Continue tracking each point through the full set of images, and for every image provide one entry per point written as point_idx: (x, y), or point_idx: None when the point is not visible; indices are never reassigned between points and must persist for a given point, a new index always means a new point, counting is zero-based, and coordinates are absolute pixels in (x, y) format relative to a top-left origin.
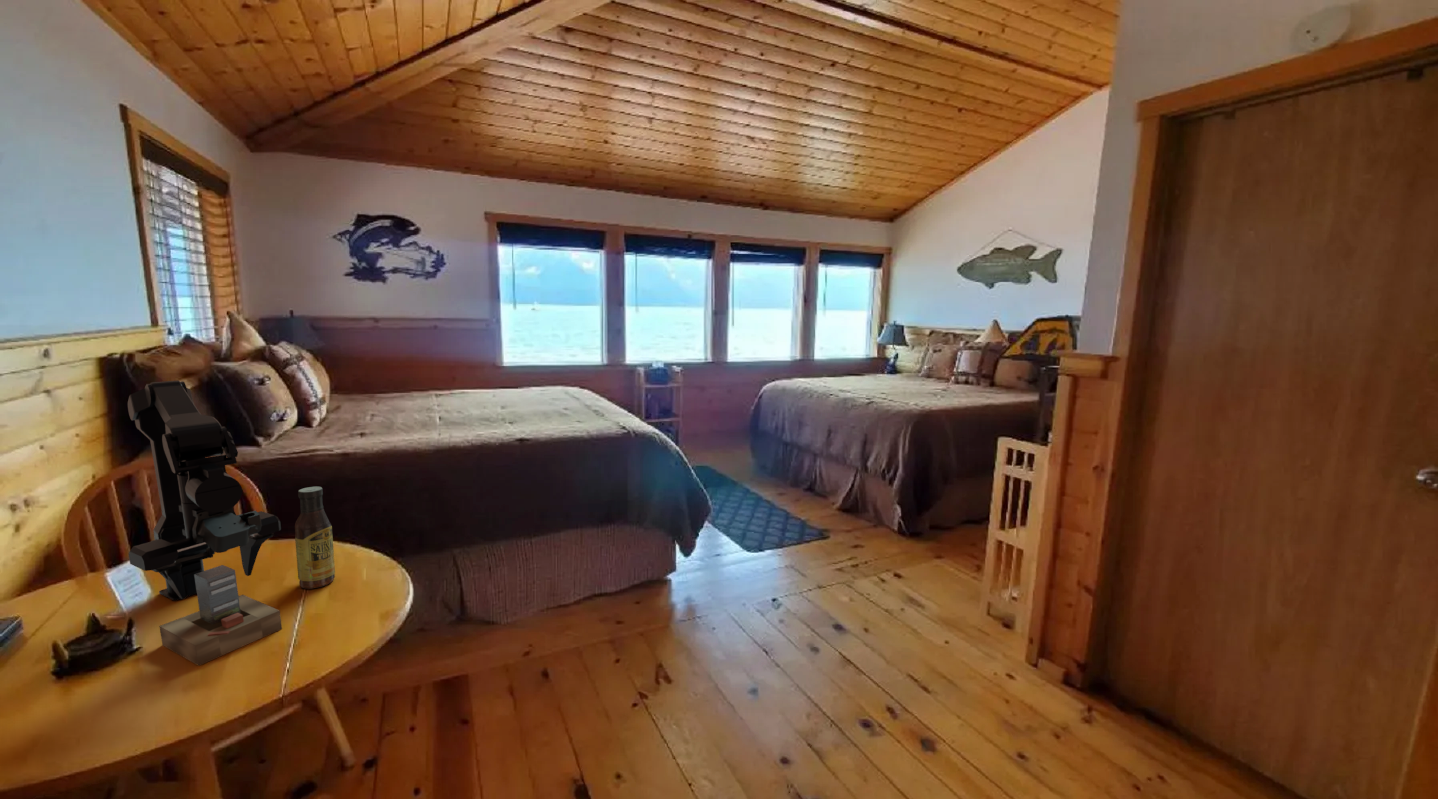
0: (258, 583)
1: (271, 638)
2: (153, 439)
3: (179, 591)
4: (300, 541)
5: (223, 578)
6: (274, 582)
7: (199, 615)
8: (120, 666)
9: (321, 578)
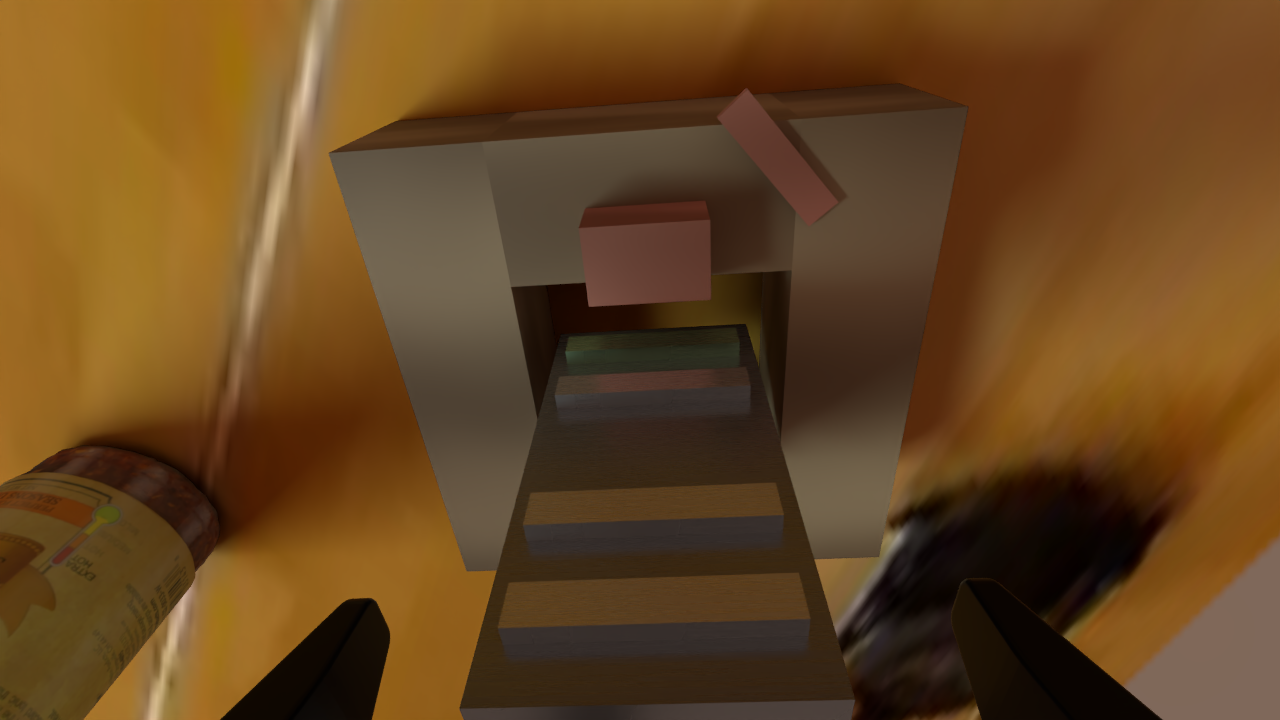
0: None
1: (481, 40)
2: None
3: (1100, 668)
4: None
5: (638, 624)
6: None
7: None
8: (1031, 431)
9: (62, 477)
